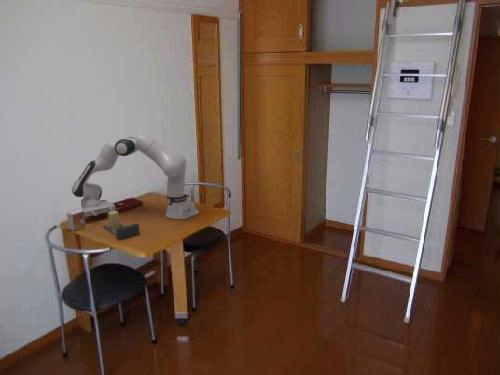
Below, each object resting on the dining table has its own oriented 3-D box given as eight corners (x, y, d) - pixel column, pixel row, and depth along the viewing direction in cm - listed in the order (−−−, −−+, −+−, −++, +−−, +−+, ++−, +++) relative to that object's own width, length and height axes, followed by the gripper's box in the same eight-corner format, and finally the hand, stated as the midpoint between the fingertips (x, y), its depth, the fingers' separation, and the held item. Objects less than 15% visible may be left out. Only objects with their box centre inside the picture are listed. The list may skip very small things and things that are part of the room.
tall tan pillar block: (116, 226, 259) (114, 210, 256) (119, 228, 256) (118, 212, 253) (109, 227, 256) (107, 212, 253) (112, 230, 253) (111, 214, 250)
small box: (73, 231, 249) (72, 214, 246) (68, 229, 252) (66, 212, 249) (85, 227, 255) (84, 211, 252) (80, 225, 259) (78, 209, 256)
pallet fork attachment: (120, 223, 263) (119, 214, 262) (139, 234, 247) (139, 224, 246) (100, 228, 255) (99, 218, 253) (119, 240, 239) (118, 230, 237)
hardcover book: (143, 206, 296) (142, 200, 295) (118, 214, 280) (117, 208, 278) (132, 202, 303) (131, 197, 301) (107, 210, 286) (106, 204, 285)
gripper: (77, 205, 264) (87, 211, 254) (108, 199, 277) (118, 204, 268) (78, 215, 266) (88, 221, 256) (109, 208, 279) (119, 214, 270)
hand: (104, 212), depth 262 cm, fingers open, 8 cm apart
